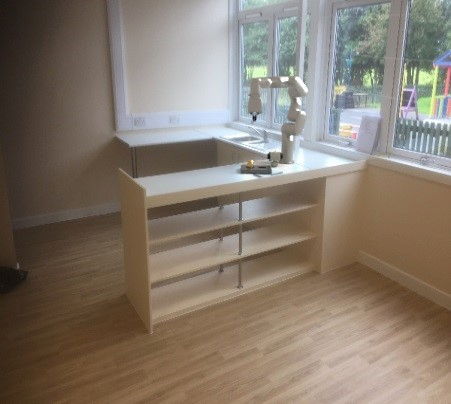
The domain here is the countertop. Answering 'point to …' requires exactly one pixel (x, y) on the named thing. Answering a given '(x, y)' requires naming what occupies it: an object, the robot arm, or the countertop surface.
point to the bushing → (249, 163)
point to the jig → (256, 169)
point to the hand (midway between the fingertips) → (254, 121)
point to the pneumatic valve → (274, 157)
